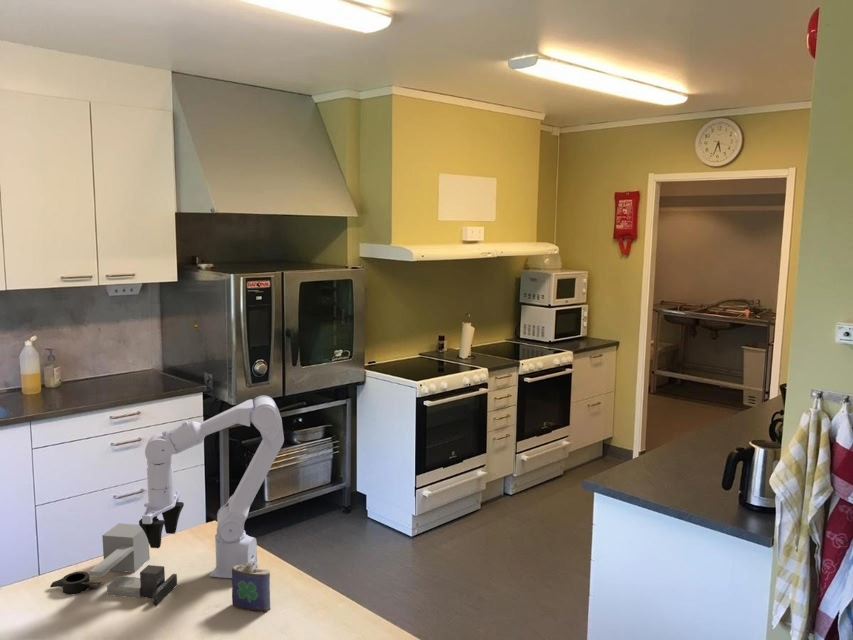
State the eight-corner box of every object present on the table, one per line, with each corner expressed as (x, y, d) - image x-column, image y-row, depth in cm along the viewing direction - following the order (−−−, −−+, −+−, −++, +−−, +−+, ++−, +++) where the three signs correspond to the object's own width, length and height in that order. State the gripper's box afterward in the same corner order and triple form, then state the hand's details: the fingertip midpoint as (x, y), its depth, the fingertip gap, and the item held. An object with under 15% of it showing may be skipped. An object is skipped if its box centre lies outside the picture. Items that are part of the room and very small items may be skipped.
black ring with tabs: (74, 602, 155) (73, 590, 155) (47, 591, 160) (46, 579, 160) (104, 587, 162) (104, 575, 161) (78, 576, 167) (77, 565, 166)
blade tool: (177, 585, 163) (176, 561, 162) (157, 605, 154) (156, 580, 153) (124, 580, 165) (123, 556, 164) (101, 600, 156) (100, 575, 155)
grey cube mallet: (149, 559, 175) (148, 525, 174) (102, 600, 156) (100, 563, 154) (120, 556, 176) (118, 523, 175) (70, 597, 157) (68, 560, 155)
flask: (272, 607, 154) (271, 562, 152) (266, 614, 151) (264, 568, 149) (236, 600, 156) (234, 556, 155) (228, 607, 153) (227, 562, 152)
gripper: (159, 473, 170) (162, 526, 172) (128, 496, 156) (131, 553, 157) (187, 475, 169) (189, 527, 171) (157, 498, 155) (160, 555, 157)
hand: (163, 540), depth 164 cm, fingers open, 7 cm apart
